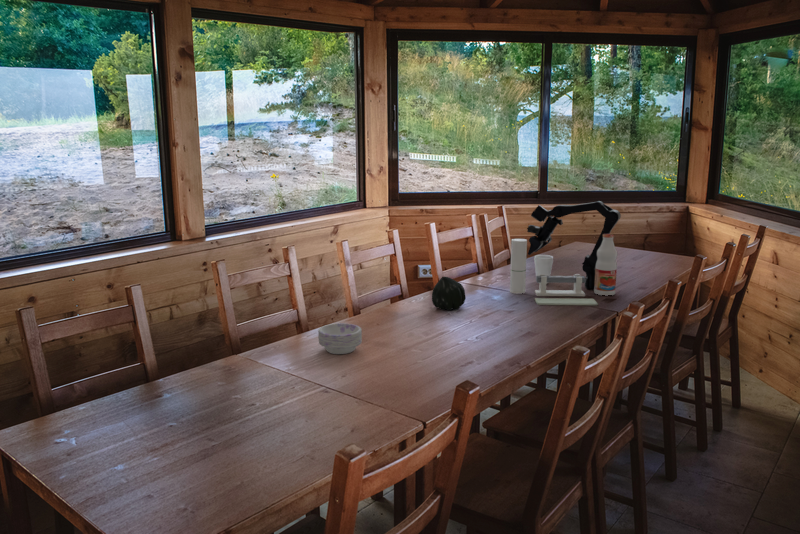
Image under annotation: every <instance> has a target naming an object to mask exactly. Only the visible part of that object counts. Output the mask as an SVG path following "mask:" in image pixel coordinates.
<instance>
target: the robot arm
mask: <svg viewBox="0 0 800 534" xmlns="http://www.w3.org/2000/svg"><path fill="white" fill-rule="evenodd" d="M592 211H597V212H598V213H599V214H600V215H601V216H603V218H605V219H604V222H603V228H602V230H601V232H600V234H599V237H598V238H597V241H596V243H595V245H594V247H593V249H592V251H591V253H590V254H586V256H585V257H584V260H583V262H582V263H581V264H582V266H581V267H582V271H583V272H584V273H585V275H586V276H585V283H584V287H585V289H587V290H594V285H595V268H596V262H597V250H598V249H599V247H600V246H601V244H602V241H603V234H611V233H612V230H613V229H614V228H615V226H616V225H617V223H618V222H619V220H620V219H621V217H622V215H621V213H620V211H619V210H617V209H613V208H611V206H609V205H607V204H605V203H604V202H603V201H602V200H601V201H600V200H598V201H594V202H593V201H592V202H587V203H579V204H574V205H573V204H557V205H556V206H554V207H553V208H552V209H549V210H548V209H546V208H544V207H543V206H542V205H540V204H539V205H537V207H536V208H535V209H534V210H533V211H532V212H531V215H530V217H531V218H533V219H535V220H536V221H537V222H539V223H543V225H542V226H537V225H533V224H530V225H528V226H527V228H526V230H527V233H532V234H534V235H532V236H530V237H529V239H528V243H529V244H530V247H529V248H528V251H527V252H528V253H527V255H528V256H531V255H532V254H533V253H537V252H539V251H540V250H541V249H542V248H545V246H547V245H548V244H549V243H551V242H552V240H553V239H552V236H551V235H552V234H554V231H555V229H556V228H557V227H558V225H559V226H562V225H564V223H563V222H564V221H563V219H562V218H563V217H566V216H569V215H572V214H576V213H584V212H585V213H586V212H592ZM559 218H561V219H559Z"/></svg>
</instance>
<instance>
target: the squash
mask: <svg viewBox="0 0 800 534" xmlns="http://www.w3.org/2000/svg"><path fill="white" fill-rule="evenodd" d="M466 298H467V297H466V290H465V288H464V286H463V284H462V283H460V282H459V281H456V280H455V279H454V278H453V279H452V278H451V277H449V276H441V278H440V279H439V281H438V282H437V283H436V284H434V287H433V289H432V292H431V302H432V305H433V306H434V307H435V308H437V309H440V310H442V311H443V310H447V311H452V310H453V311H454V310H459V308H460V307H461V306H464V304H465V301H466Z"/></svg>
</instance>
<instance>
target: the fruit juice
mask: <svg viewBox="0 0 800 534" xmlns="http://www.w3.org/2000/svg"><path fill="white" fill-rule="evenodd" d="M614 238H615V235H614V234H613V233H610V234H603V241H602V244H601V246H600V247H599V249H598V250H597V262H596V268H595V285H594V289H593V292H594V294H595V295H597V294H598V296H602V295H605V296H604V297H609V296H608V295H612V296H615V294H616V288H617V287H616V285H617V272H618V262H617V258H618V251H617V249H616V246H615V243H614Z"/></svg>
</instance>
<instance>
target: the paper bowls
mask: <svg viewBox="0 0 800 534" xmlns="http://www.w3.org/2000/svg"><path fill="white" fill-rule="evenodd" d="M317 331H318V344H319V345H320V346H321V347H324V349H325V351H326V352H327V353H330V354H332V355H333V354H334V355H345V354H350V353H353V352H354V351H355V350H356V348H357V346H360V345H362V342H363V337H362V335H363V334H362V333H363V332H362V327H361V326H359V325H357V324H353V323H345V322H344V323H331V324H330V323H329V324H326V325H323V326H321V327H320V328H319V329H318V330H317Z"/></svg>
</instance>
